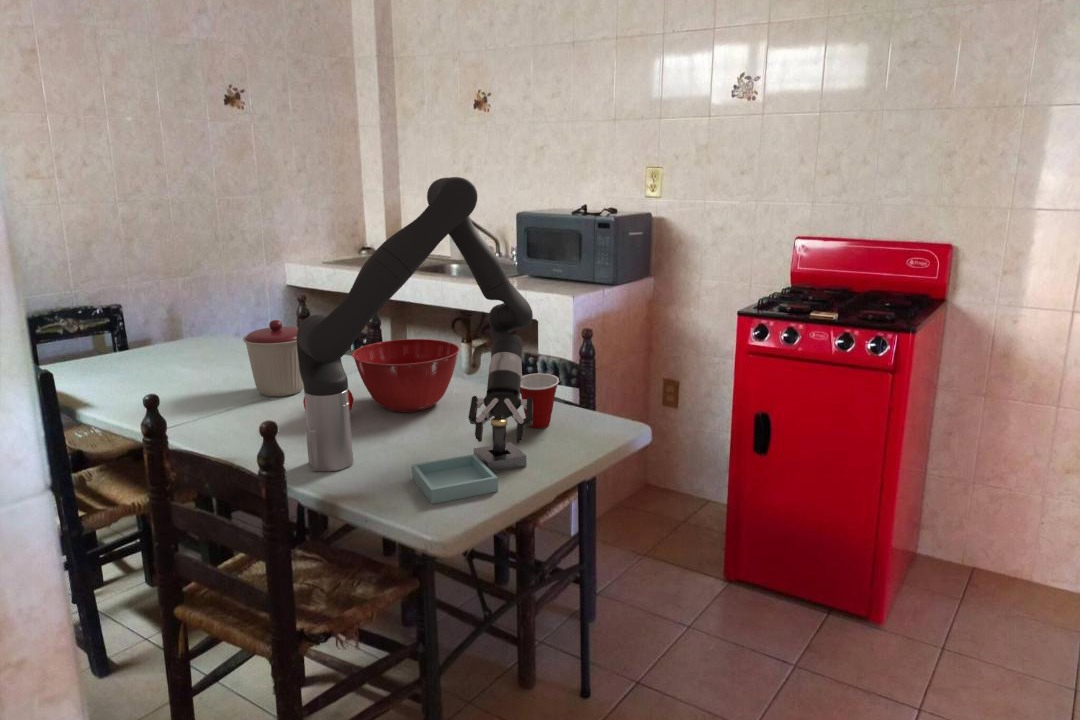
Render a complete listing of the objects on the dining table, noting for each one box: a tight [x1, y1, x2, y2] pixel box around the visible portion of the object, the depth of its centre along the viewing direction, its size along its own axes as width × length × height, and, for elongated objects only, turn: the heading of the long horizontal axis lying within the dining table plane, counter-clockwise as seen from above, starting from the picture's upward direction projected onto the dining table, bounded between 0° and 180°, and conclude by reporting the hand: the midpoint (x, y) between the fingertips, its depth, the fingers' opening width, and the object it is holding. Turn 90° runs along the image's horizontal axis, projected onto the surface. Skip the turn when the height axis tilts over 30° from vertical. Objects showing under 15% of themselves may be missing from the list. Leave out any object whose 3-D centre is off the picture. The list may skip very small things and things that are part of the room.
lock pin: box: [490, 417, 508, 457], centre depth 174 cm, size 4×4×10 cm
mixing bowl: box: [351, 338, 460, 413], centre depth 213 cm, size 28×28×15 cm
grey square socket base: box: [473, 441, 527, 473], centre depth 175 cm, size 9×9×2 cm
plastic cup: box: [520, 373, 560, 429], centre depth 197 cm, size 11×11×12 cm
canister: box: [242, 319, 304, 397], centre depth 224 cm, size 18×18×21 cm
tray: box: [411, 453, 499, 505], centre depth 163 cm, size 14×14×3 cm
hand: (498, 441), depth 173 cm, fingers open, 8 cm apart
